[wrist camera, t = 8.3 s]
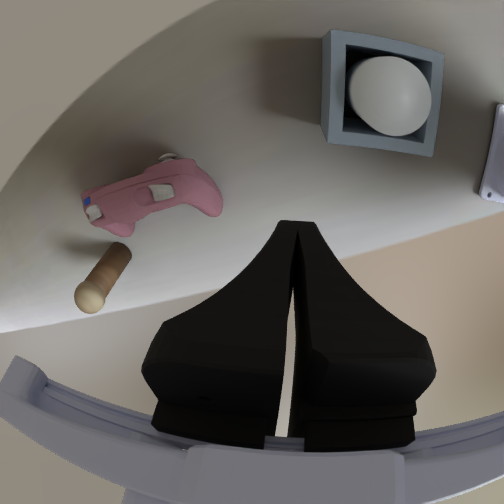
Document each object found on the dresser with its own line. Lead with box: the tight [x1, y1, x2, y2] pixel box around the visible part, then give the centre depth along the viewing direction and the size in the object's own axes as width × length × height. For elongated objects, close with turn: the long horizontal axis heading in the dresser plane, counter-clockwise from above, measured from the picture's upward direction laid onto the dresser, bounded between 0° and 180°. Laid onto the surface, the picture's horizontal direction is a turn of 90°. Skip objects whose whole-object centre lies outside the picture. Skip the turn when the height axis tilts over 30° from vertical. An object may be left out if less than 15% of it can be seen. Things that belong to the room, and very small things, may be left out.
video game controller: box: [81, 153, 223, 237], centre depth 19 cm, size 10×5×7 cm, turn 107°
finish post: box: [74, 242, 132, 314], centre depth 23 cm, size 3×3×8 cm
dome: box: [344, 56, 432, 136], centre depth 12 cm, size 4×4×4 cm
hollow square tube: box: [320, 30, 444, 157], centre depth 13 cm, size 6×6×4 cm
